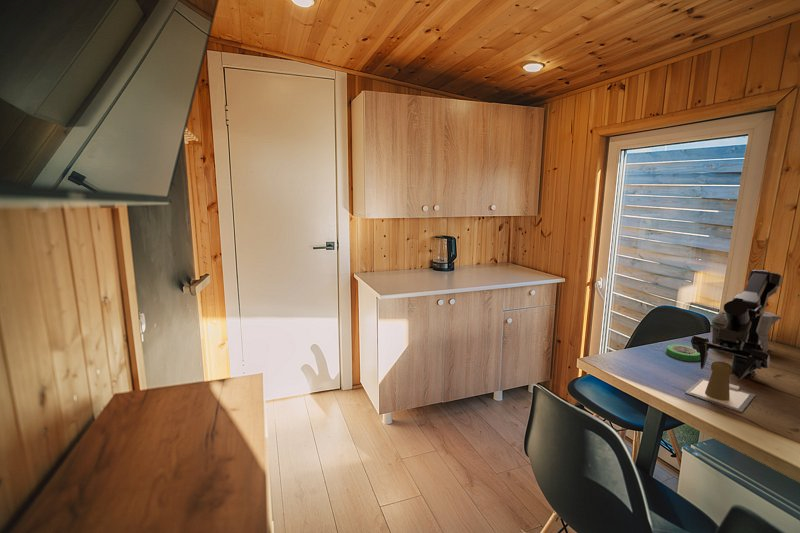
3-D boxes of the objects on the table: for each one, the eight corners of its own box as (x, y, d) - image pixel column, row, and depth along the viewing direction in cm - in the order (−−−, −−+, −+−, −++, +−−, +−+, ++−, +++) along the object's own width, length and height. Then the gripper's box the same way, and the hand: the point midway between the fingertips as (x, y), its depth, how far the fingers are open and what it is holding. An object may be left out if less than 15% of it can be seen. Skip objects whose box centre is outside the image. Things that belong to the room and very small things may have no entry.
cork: (734, 399, 119) (740, 366, 117) (719, 401, 117) (725, 368, 115) (714, 389, 125) (719, 358, 122) (700, 392, 123) (705, 360, 121)
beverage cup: (703, 347, 160) (710, 301, 156) (715, 344, 162) (723, 299, 158) (722, 354, 153) (730, 306, 149) (735, 351, 155) (743, 304, 151)
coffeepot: (775, 348, 157) (783, 306, 154) (775, 355, 151) (783, 312, 147) (726, 339, 168) (733, 299, 164) (724, 345, 161) (731, 304, 158)
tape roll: (659, 353, 155) (660, 346, 155) (677, 348, 159) (678, 342, 159) (689, 364, 145) (690, 357, 145) (706, 358, 149) (707, 352, 149)
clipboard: (701, 378, 133) (702, 375, 133) (755, 395, 122) (755, 391, 122) (685, 393, 123) (685, 389, 123) (741, 413, 112) (742, 408, 112)
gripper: (696, 311, 126) (679, 351, 121) (774, 327, 111) (758, 373, 107) (701, 329, 132) (685, 367, 127) (775, 345, 117) (760, 390, 113)
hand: (719, 373), depth 118 cm, fingers open, 9 cm apart
